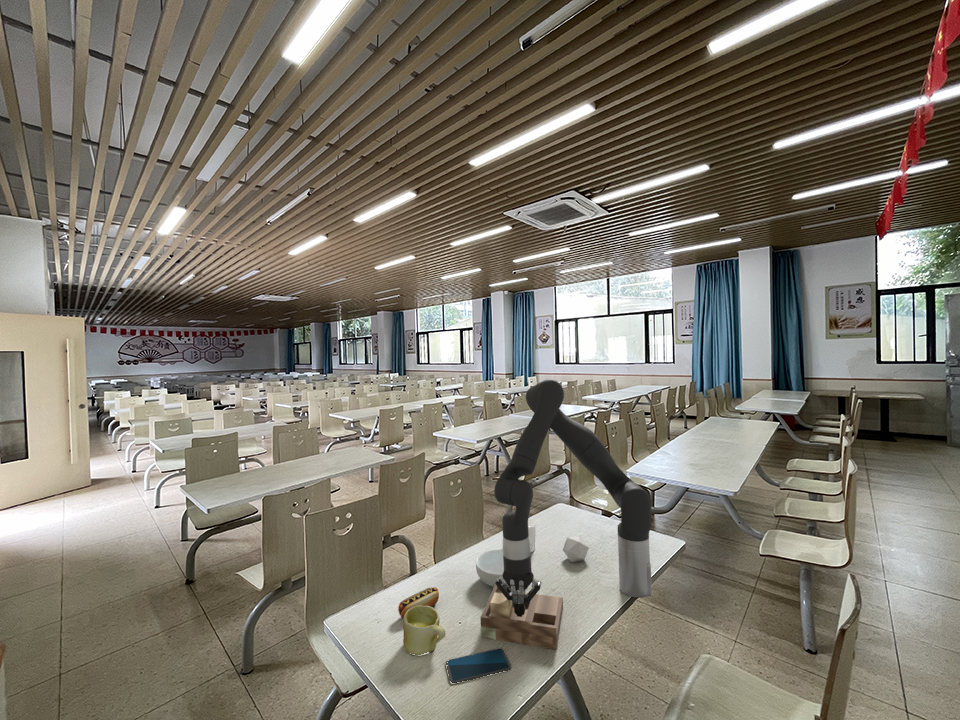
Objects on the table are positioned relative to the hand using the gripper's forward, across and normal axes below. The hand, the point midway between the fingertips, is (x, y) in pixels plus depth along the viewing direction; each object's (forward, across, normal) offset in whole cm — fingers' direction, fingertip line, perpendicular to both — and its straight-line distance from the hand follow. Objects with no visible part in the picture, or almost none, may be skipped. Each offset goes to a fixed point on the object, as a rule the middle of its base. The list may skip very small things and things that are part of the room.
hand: (519, 614), depth 114 cm
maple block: (+1, +5, 0) cm, 5 cm away
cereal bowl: (+4, +11, -23) cm, 26 cm away
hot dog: (+4, +31, -2) cm, 31 cm away
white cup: (+4, +6, -47) cm, 47 cm away
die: (+5, -12, -43) cm, 45 cm away
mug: (+4, +23, +12) cm, 26 cm away
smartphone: (+5, +8, +15) cm, 18 cm away
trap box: (+4, 0, -4) cm, 6 cm away
